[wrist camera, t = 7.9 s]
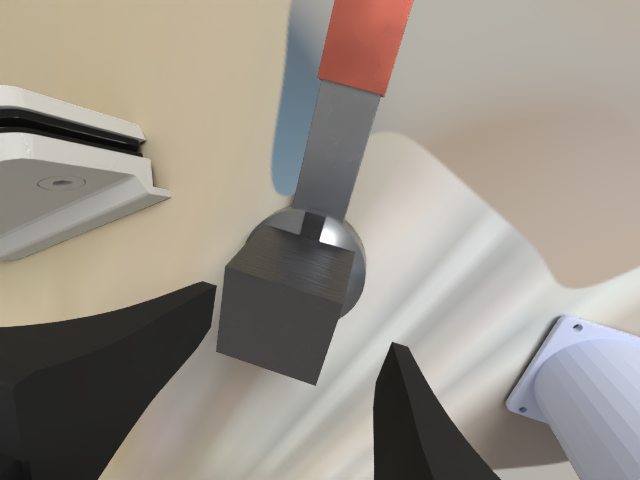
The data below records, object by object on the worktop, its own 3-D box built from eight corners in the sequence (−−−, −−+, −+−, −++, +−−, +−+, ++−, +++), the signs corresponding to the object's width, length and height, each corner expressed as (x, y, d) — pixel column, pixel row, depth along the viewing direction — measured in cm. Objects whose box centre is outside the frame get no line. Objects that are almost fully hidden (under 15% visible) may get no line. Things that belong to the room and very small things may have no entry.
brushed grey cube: (355, 252, 19) (343, 304, 14) (331, 323, 21) (315, 385, 17) (264, 224, 19) (225, 266, 15) (252, 297, 22) (216, 351, 17)
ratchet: (507, -135, 14) (563, -249, 10) (347, 327, 23) (339, 373, 19) (330, -171, 15) (309, -294, 10) (242, 293, 24) (212, 330, 19)
